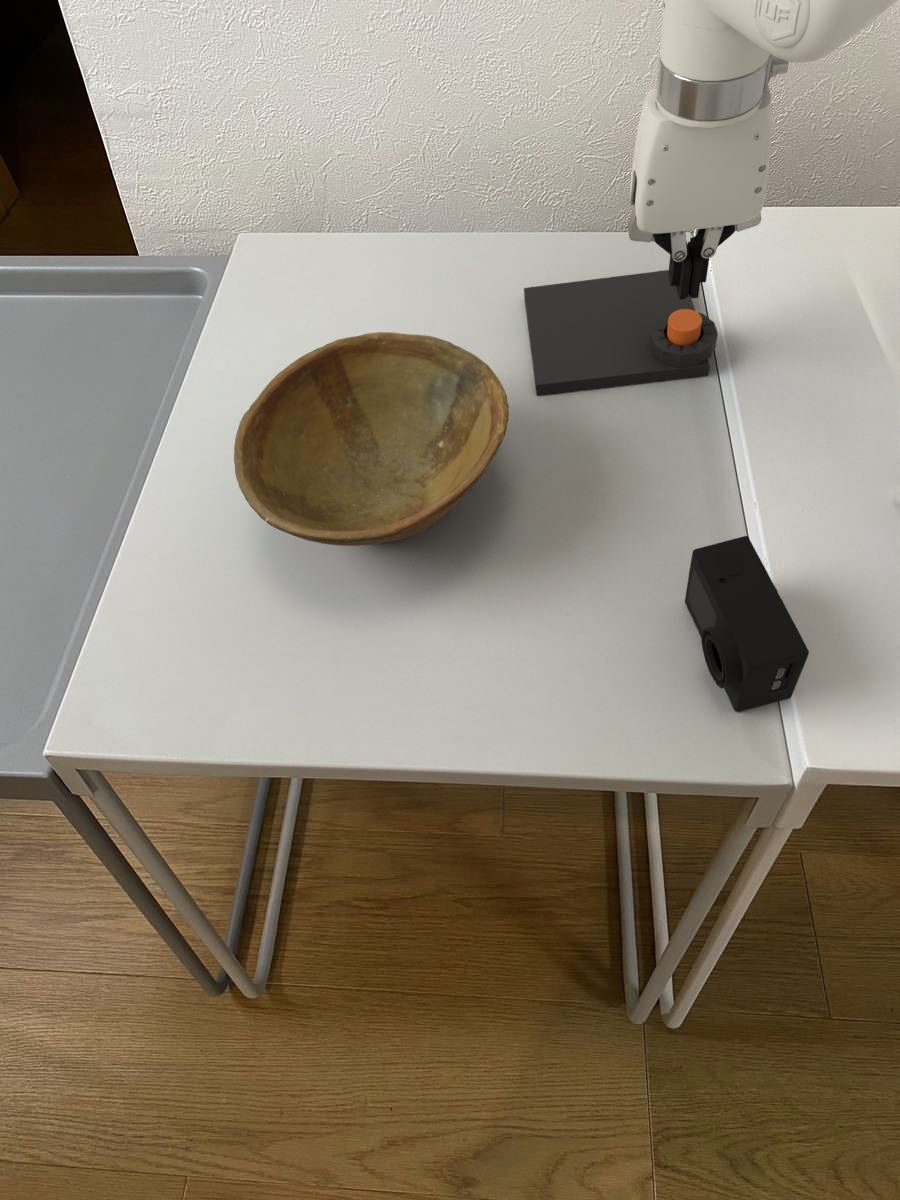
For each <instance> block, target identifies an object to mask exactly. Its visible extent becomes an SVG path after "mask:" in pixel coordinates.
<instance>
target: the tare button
mask: <svg viewBox="0 0 900 1200" xmlns="http://www.w3.org/2000/svg"><path fill="white" fill-rule="evenodd" d="M697 312H698V311H696V310H695V311H693V310H690V309H681V310H677V311H675V312H673V313H672V314H671V315H670V316H669V319H668V328H667V337H668V339H669V340H670V341H671V342H672V343H674V344H678V345H682V346H683V345H691V344H693V343H695V342H696V341H697V340H698V339H699V337H700V333H701V325H702V318H701V316H700V314H699V313H700V312H699V313H697Z"/></svg>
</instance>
